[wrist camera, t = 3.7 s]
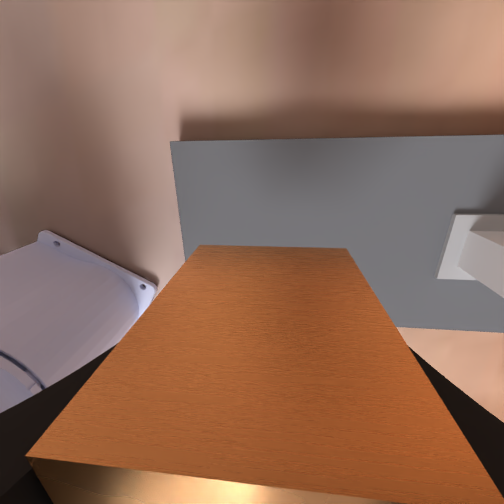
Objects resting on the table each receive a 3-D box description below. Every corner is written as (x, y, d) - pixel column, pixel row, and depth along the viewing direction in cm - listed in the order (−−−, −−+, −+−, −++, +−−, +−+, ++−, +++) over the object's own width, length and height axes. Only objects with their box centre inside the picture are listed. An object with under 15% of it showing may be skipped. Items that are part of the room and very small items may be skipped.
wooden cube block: (210, 353, 11) (121, 615, 5) (199, 244, 9) (25, 456, 3) (330, 361, 10) (400, 669, 4) (346, 248, 8) (515, 517, 2)
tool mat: (198, 304, 20) (171, 356, 15) (179, 141, 16) (131, 140, 11) (528, 320, 18) (626, 389, 13) (622, 132, 13) (834, 125, 8)
